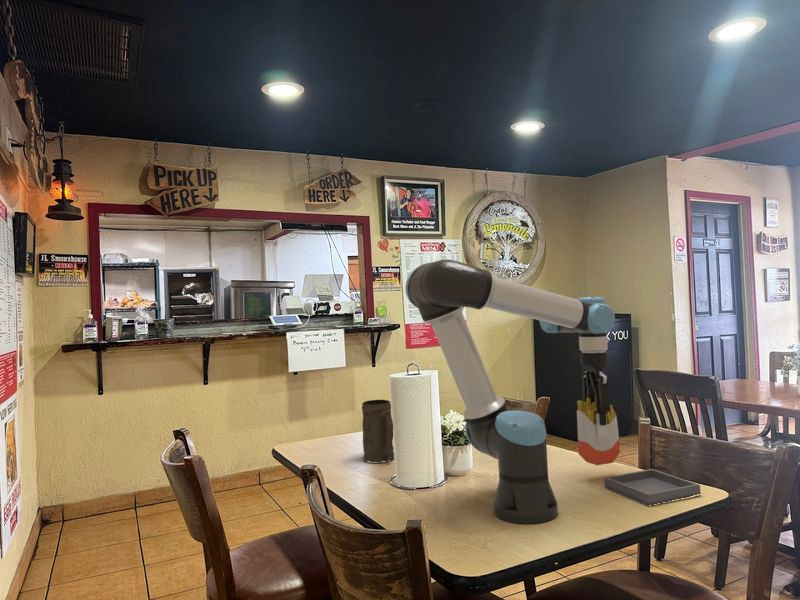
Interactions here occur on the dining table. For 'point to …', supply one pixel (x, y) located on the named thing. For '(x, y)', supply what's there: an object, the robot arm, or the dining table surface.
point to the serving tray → (651, 486)
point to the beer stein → (377, 431)
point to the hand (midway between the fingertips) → (597, 434)
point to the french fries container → (588, 442)
